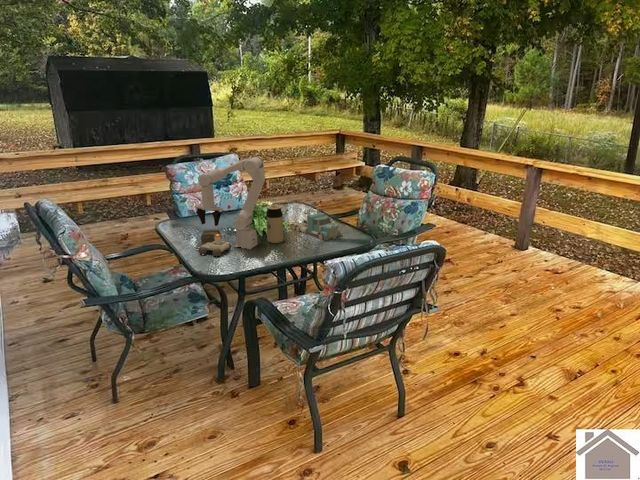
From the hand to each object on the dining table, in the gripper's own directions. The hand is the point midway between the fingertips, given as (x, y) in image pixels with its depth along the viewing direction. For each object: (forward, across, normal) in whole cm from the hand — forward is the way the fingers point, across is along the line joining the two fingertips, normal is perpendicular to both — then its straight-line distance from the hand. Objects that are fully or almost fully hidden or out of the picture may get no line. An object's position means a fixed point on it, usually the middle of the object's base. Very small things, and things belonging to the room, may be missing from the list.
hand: (210, 224), depth 232 cm
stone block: (+10, +2, -3) cm, 11 cm away
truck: (+10, -42, -35) cm, 56 cm away
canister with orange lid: (+6, -11, +10) cm, 17 cm away
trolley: (+10, -6, +10) cm, 16 cm away
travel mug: (+10, -28, -15) cm, 33 cm away
